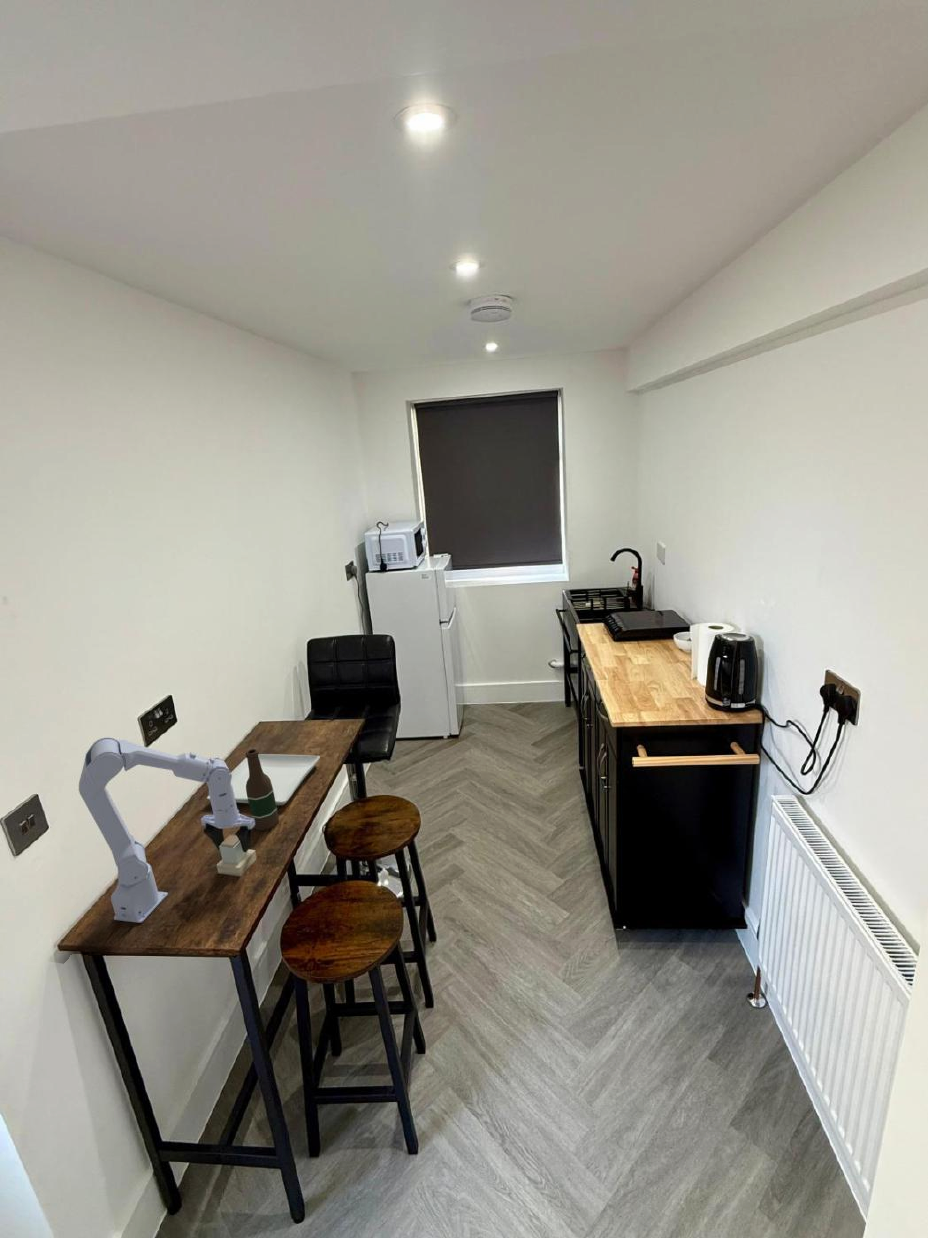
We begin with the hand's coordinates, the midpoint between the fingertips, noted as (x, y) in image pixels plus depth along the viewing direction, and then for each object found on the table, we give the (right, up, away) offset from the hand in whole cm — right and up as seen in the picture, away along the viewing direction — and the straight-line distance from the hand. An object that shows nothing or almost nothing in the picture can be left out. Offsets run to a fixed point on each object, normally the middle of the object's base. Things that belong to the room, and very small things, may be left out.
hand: (234, 848), depth 155 cm
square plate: (-4, +5, +40) cm, 40 cm away
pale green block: (0, -3, +1) cm, 3 cm away
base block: (0, -6, +2) cm, 6 cm away
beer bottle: (+2, 0, +19) cm, 19 cm away
